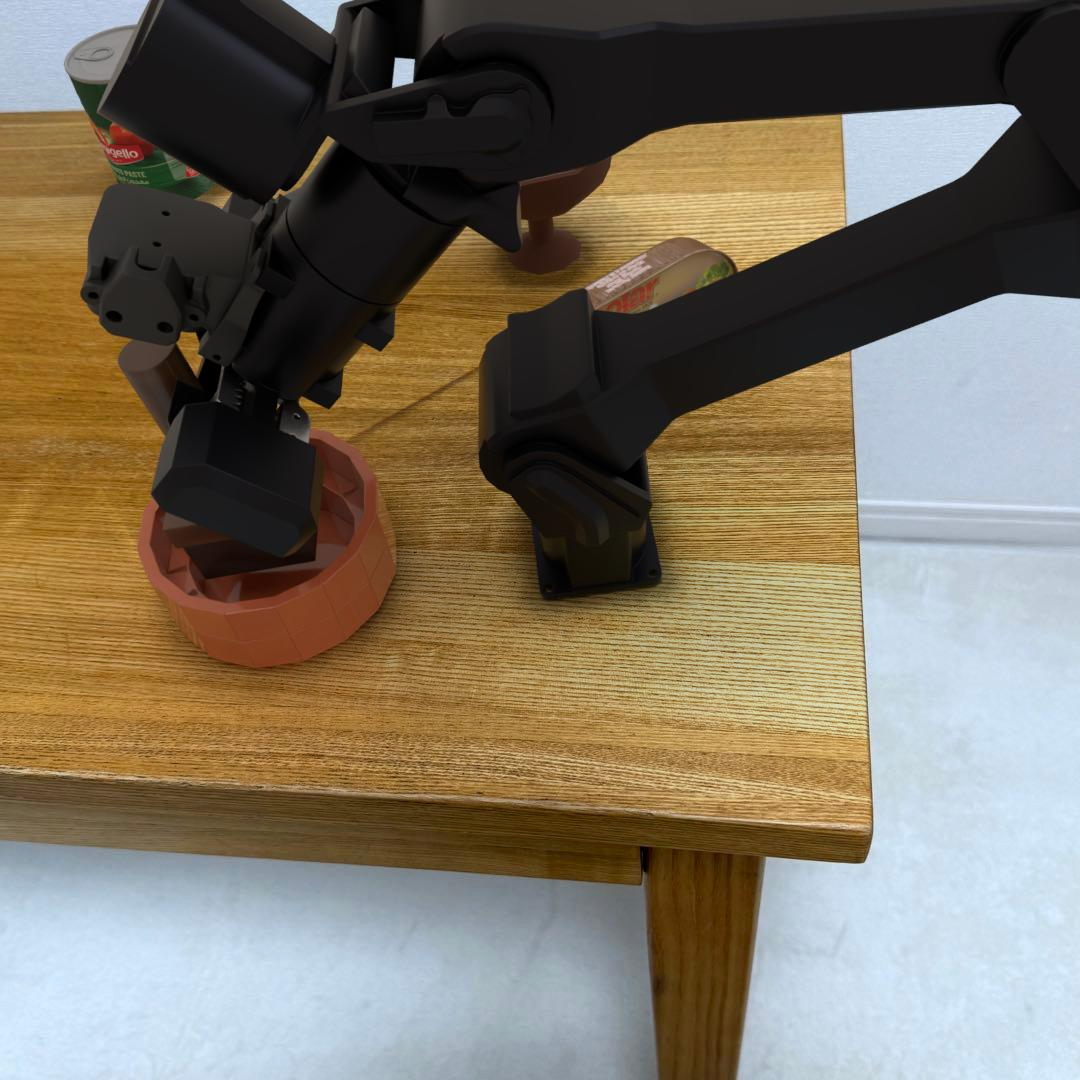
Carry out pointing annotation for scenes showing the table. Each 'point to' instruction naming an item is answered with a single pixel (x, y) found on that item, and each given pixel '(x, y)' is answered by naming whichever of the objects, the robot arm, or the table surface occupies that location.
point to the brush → (155, 384)
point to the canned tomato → (123, 150)
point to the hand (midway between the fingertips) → (179, 463)
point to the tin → (660, 276)
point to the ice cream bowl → (540, 205)
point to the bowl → (286, 575)
